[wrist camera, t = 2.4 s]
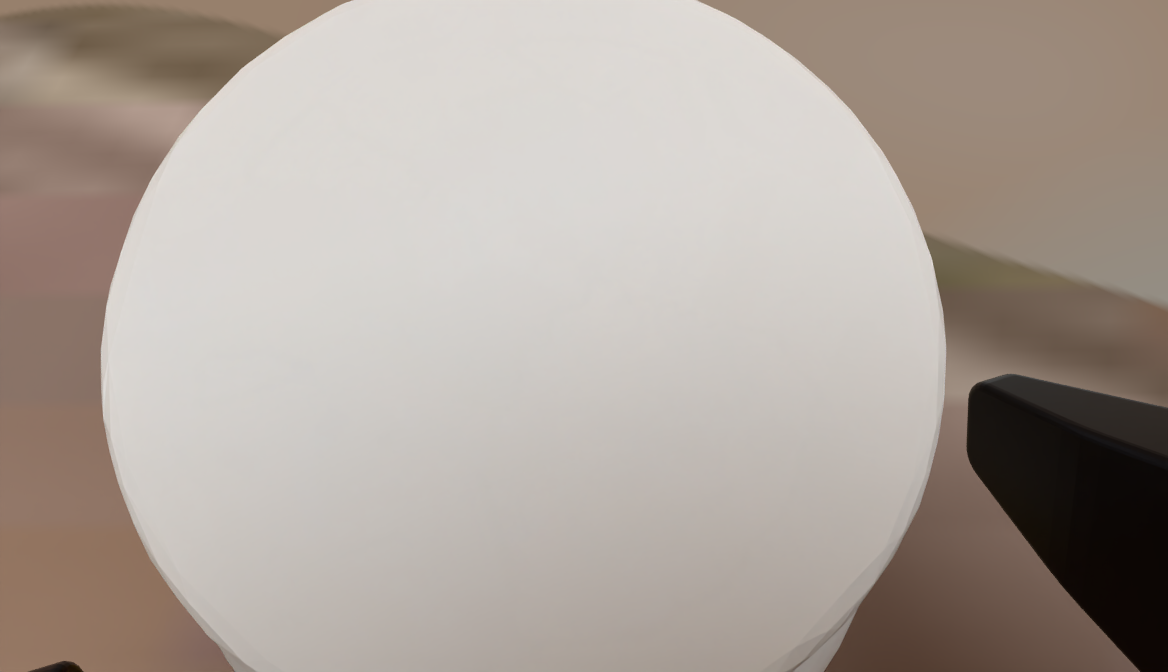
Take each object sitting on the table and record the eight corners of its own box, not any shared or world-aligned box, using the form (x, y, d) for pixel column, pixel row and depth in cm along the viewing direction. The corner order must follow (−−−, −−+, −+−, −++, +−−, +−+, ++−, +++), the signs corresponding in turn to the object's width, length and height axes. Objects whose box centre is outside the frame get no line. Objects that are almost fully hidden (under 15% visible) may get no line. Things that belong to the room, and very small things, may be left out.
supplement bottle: (308, 613, 16) (-446, 563, 4) (475, 326, 18) (326, -289, 6) (620, 785, 15) (900, 1394, 3) (757, 464, 17) (1245, 80, 5)
